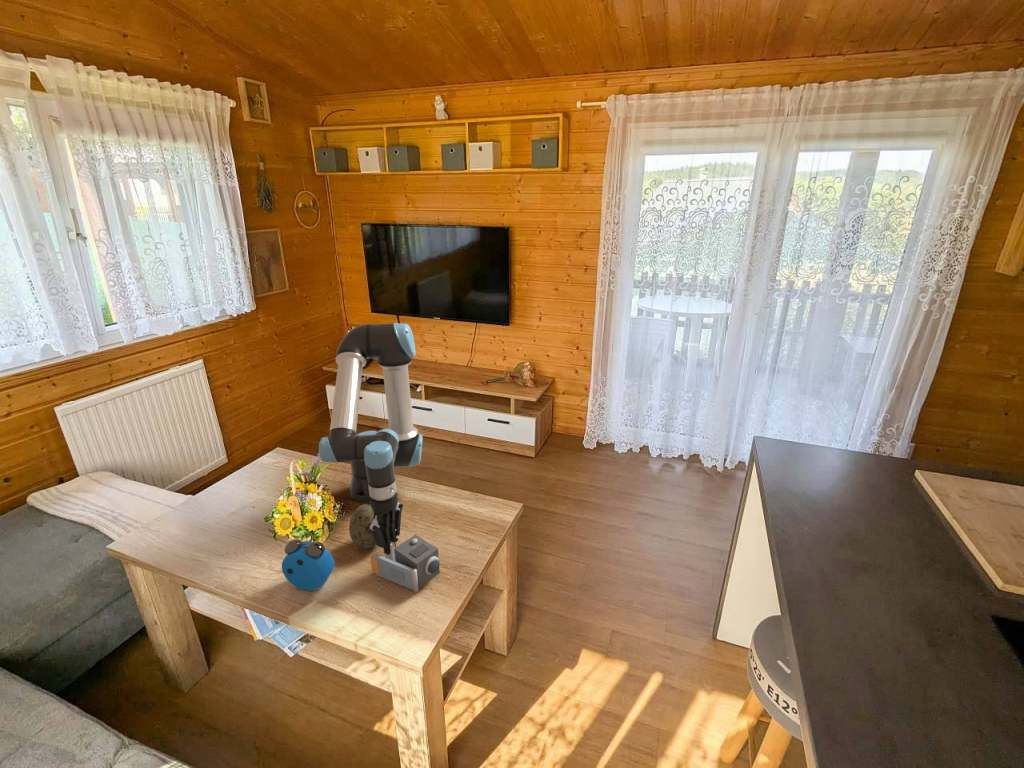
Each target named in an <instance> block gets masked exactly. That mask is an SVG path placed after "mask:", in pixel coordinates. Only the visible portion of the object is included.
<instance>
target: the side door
mask: <svg viewBox="0 0 1024 768" xmlns="http://www.w3.org/2000/svg"><path fill="white" fill-rule="evenodd" d="M369 560H370V566H371V572H373V573H376V576H378V577H381V578H382V579H385V580H388V581H390V582H392V583H395V584H397V585H400V586H401V587H403V588H407V589H409V590H411V591H413V592H414V593H419V591H420V590H419V587H418V577H417V569H415V568H414V569H412V568H410V567H408V566H405V565H403V564H400V563H398V562H396V561H393V560H390V559H388V558H386V556H383V555H380V554H378V553H376V554H372V556H371V557H370V559H369Z"/></svg>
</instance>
